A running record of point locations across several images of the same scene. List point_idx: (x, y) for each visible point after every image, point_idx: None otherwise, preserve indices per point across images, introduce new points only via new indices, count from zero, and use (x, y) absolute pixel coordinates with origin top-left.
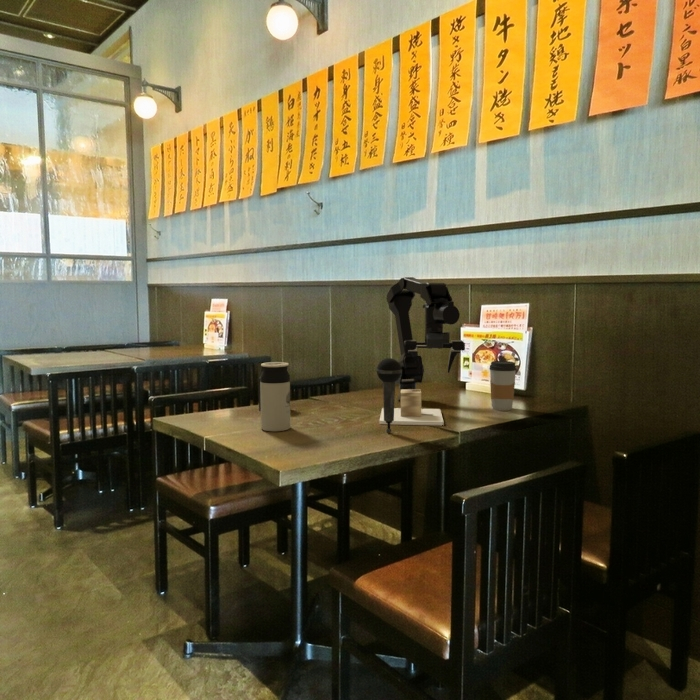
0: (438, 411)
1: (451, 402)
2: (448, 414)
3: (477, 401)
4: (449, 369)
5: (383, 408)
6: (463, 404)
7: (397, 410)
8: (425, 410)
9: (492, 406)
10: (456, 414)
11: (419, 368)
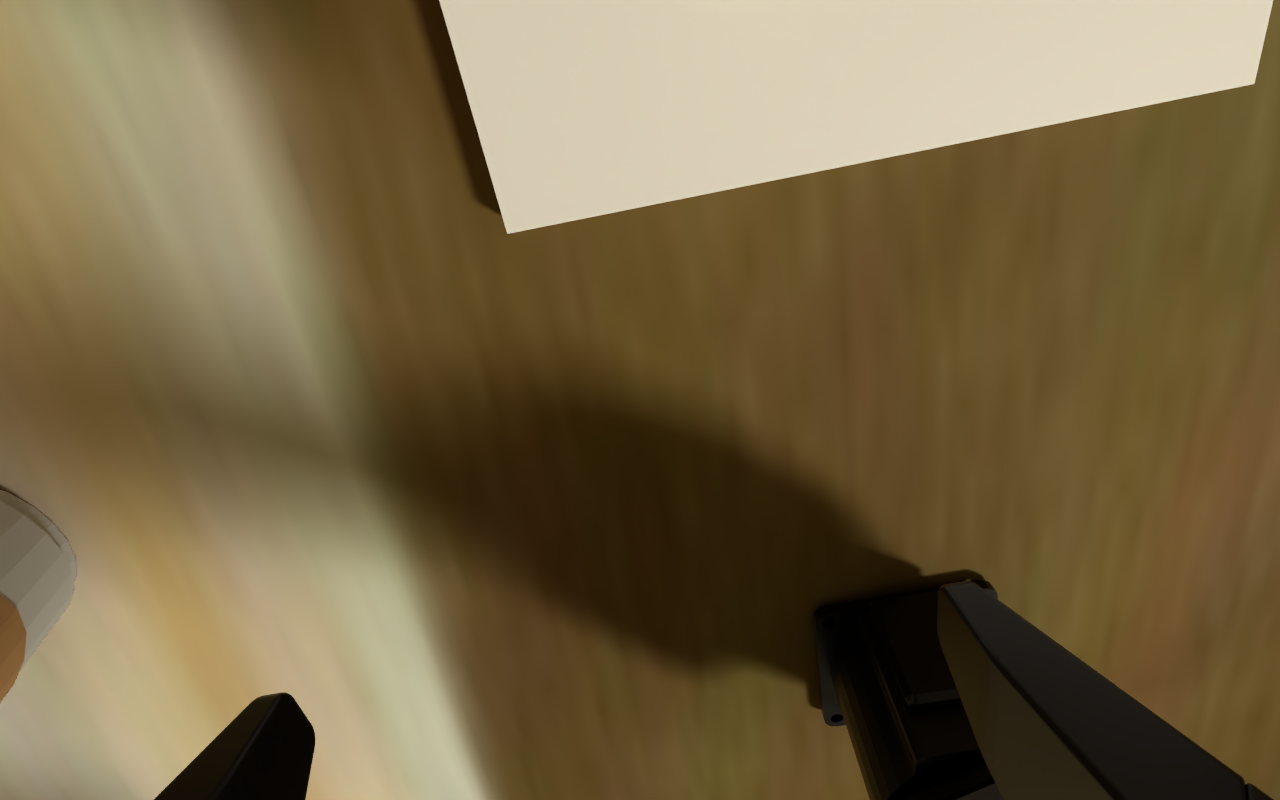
0: (488, 63)
1: (509, 663)
2: (382, 123)
3: None
4: (206, 758)
5: (1242, 48)
6: (386, 622)
7: None
8: (669, 81)
9: (34, 531)
10: (291, 152)
11: (986, 651)
